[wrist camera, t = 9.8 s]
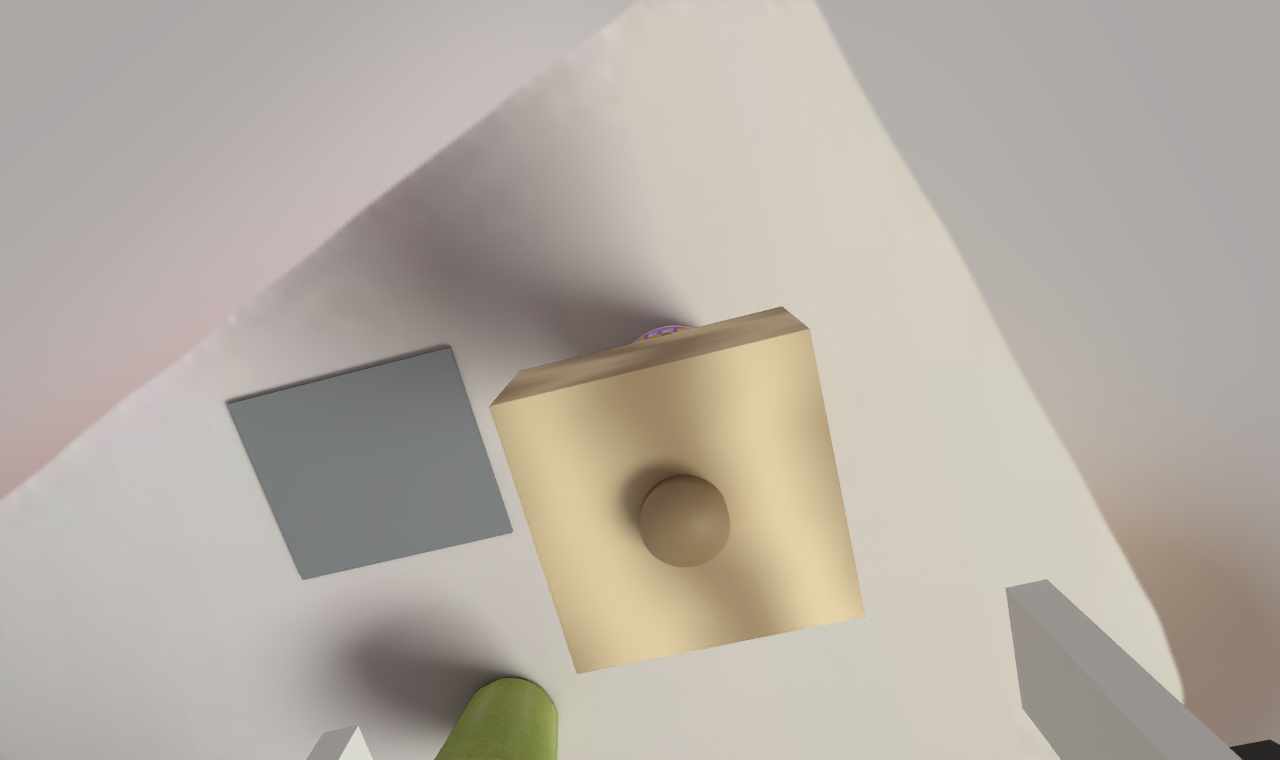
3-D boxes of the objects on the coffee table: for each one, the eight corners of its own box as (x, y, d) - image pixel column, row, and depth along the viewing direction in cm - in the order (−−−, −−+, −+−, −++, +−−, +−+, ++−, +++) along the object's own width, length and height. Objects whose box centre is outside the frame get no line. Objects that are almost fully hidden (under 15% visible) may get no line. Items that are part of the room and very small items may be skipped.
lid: (590, 598, 27) (574, 690, 22) (519, 370, 25) (482, 414, 19) (830, 548, 26) (873, 631, 21) (782, 306, 24) (815, 333, 18)
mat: (305, 577, 42) (302, 580, 41) (229, 403, 39) (226, 404, 39) (512, 530, 40) (511, 532, 40) (450, 346, 38) (449, 347, 37)
